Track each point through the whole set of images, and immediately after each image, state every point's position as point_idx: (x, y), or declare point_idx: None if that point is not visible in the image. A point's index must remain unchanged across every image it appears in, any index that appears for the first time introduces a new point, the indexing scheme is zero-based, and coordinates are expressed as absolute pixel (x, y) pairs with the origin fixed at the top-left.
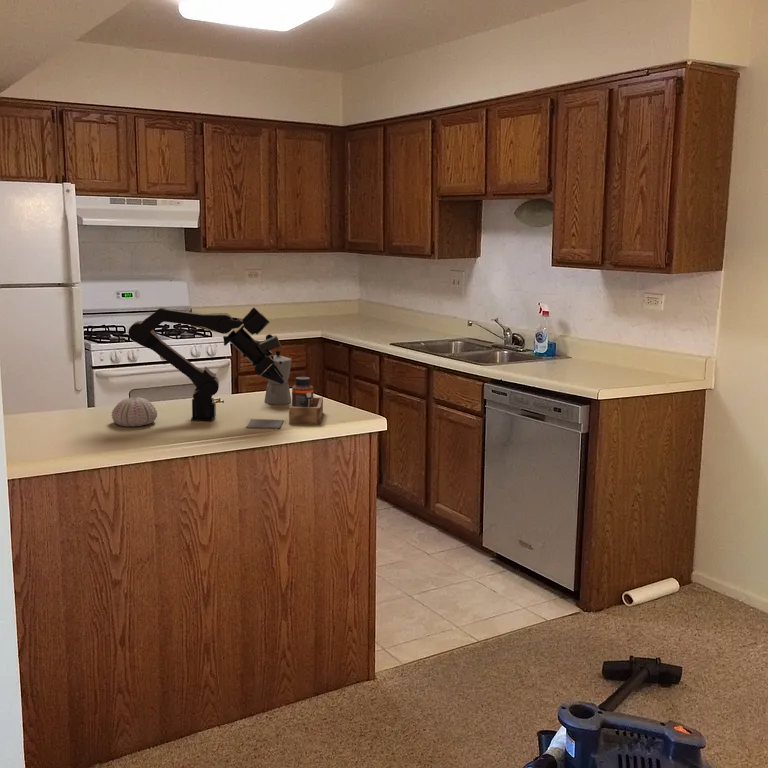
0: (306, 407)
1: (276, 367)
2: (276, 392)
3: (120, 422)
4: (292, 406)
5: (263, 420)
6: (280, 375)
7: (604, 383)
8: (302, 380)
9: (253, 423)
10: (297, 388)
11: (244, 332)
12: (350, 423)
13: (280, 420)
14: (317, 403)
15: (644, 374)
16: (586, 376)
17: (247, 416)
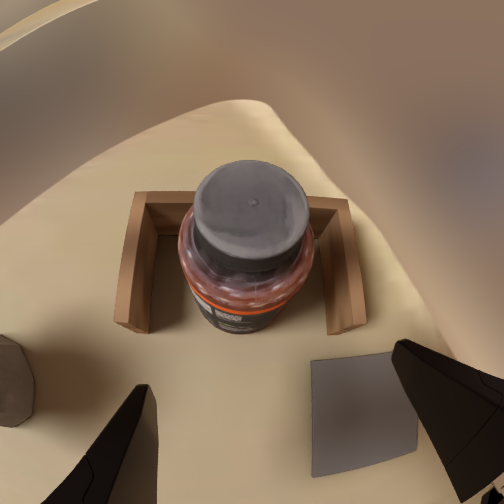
0: (352, 249)
1: (122, 469)
2: (2, 390)
3: None
4: (263, 324)
5: (331, 431)
6: (150, 409)
7: (74, 4)
8: (308, 209)
9: (377, 448)
10: (310, 266)
11: None
12: (299, 152)
13: (324, 370)
14: (148, 224)
15: (58, 3)
16: (43, 17)
17: (243, 500)
